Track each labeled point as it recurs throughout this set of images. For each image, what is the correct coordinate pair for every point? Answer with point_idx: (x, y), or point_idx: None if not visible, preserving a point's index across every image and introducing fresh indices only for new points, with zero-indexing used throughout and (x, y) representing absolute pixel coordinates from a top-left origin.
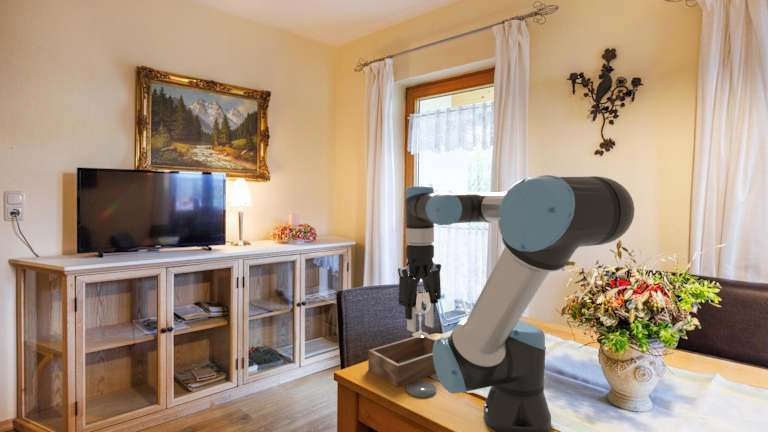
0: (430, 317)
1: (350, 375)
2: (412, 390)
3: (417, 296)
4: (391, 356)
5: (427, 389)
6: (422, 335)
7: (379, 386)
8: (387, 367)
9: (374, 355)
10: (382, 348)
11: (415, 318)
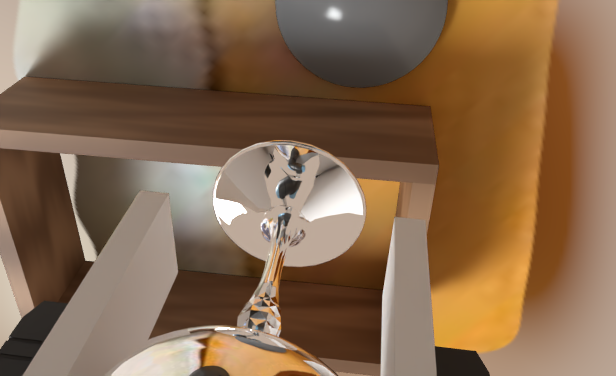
0: (131, 279)
1: (497, 313)
2: (418, 20)
3: None
4: None
5: None
6: (307, 174)
7: (487, 171)
8: None
9: None
10: (322, 354)
11: (397, 328)
